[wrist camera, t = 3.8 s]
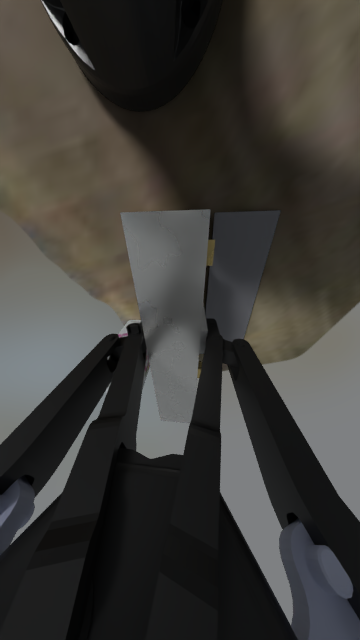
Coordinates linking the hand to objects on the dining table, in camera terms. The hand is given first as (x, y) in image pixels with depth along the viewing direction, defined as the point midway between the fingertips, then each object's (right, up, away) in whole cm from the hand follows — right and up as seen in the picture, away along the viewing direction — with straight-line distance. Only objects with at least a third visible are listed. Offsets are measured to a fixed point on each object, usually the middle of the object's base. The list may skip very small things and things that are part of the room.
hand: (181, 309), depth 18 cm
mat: (+9, +3, +5) cm, 10 cm away
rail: (0, -2, -1) cm, 2 cm away
